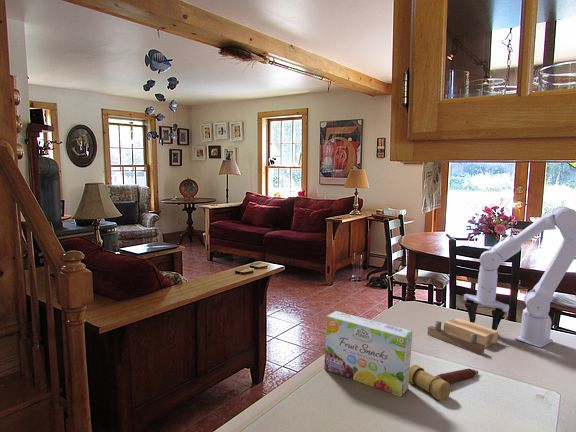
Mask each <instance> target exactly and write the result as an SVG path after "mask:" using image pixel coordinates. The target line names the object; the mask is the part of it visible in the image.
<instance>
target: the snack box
mask: <svg viewBox="0 0 576 432" xmlns="http://www.w3.org/2000/svg"><path fill="white" fill-rule="evenodd" d="M325 323H326V324H325V325H326V326H325V328H326V329H325V344H324V345H325V348H324V349H325V350H324V371H325V370H326V371H327V372H328V371H329V372H331V373H334V374H336V375H339V376H342V377H345V378H347V379H351V380H353V381H355V382H358V383H361V384H364V385H367V386H370V387H373V388H374V389H375V388H376V389H378V390H381V391H383V392H386V393H387V394H388V393H389V394H392V395H394V396H397V397H399V398H401V397H403V395H404V394H405V393H406V392H407V390H408V389H409V383H410V382H409V372H410V367H411V358H412V357H411V355H412V341H413V331H412V330H409V329H406V328H402V327H398V326H394V325H391V324H388V323H384V322H380V321H376V320H372V319H368V318H365V317H361V316H357V315H354V314H349V313H345V312H342V311H336V310H335V311H333V312H331V313H330V314H327V315H326V322H325Z"/></svg>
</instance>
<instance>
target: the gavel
mask: <svg viewBox="0 0 576 432" xmlns="http://www.w3.org/2000/svg"><path fill="white" fill-rule="evenodd" d="M475 375H476V376H477V375H479V370H478V369H471V368H464V369H459V370H455V371H449V372H445V373H440V374H439V373H438V375H433V374H430V373H429V372H427V371H426V370H425V369H424V368H423V367H421V366H419V365H418V364H413V365H410V372H409V383H411V384H412V385H414V386H415V385H416V386H417V387H419V388H421V389H422V390H424V391H426V392H427V393H428V394H431V395H432V397H433V398H434V399H436V400H437V401H440V402H441V401H444V400H447V399H448V398H449V396H450V394H451V391H452V386H451V384H454V383H458V382H462V381H467V380H471V379H473V378H475V377H476V376H475Z"/></svg>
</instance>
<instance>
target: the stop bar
mask: <svg viewBox="0 0 576 432" xmlns="http://www.w3.org/2000/svg"><path fill="white" fill-rule="evenodd" d="M427 335H428V336H431V337H433V338H436V339H438V340H440V341H444V342H446V343H449V344H452V345H454V346H457V347H459V348H462V349H464V350H467V351H469V352H473V353H475V354H478V355H480V356H481V355H484V354H485V348H486V347H485V345H483V344H480V343H477V334H475V333H471V338H470V340H469V339H466V338H464V337H461V336H458V335H455V334H453V333H450V332H447V331H445V330H444V329H442V321H440V320H435V324H434V326H433V325H430V326H427Z"/></svg>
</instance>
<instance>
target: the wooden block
mask: <svg viewBox="0 0 576 432" xmlns="http://www.w3.org/2000/svg"><path fill="white" fill-rule="evenodd" d="M443 330H445V331H447V332H450V333H453V334H455V335H458V336H461V337H464V338H466V339H469V340H470V338H471V333H475V334H477V343H480V344H483V345H485V348H487V347H490V346H492V345H494V344H497V343H498V338H499V330H493V329H492V328H489V327H487V326H483V325H480V324H478V323H472V322H470V320H469V321H468V320H467V319H466V320H465V319H463V318H459V317H456V318H453V319H449V320H447V321H444V322H443Z"/></svg>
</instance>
